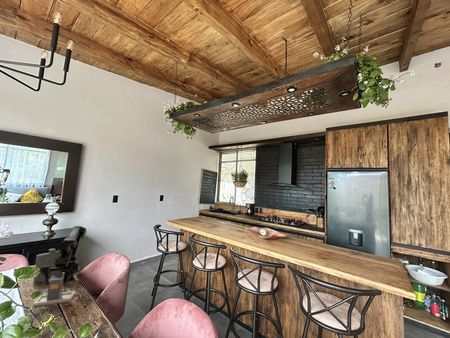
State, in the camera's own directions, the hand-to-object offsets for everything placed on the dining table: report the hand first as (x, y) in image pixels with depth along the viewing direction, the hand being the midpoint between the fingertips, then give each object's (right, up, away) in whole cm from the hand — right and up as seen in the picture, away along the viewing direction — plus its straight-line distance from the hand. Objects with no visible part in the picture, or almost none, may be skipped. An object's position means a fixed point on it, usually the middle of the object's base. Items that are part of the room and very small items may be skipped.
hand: (55, 283), depth 118 cm
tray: (-1, -9, 0) cm, 9 cm away
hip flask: (-25, -10, +24) cm, 36 cm away
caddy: (-1, -9, 0) cm, 9 cm away
